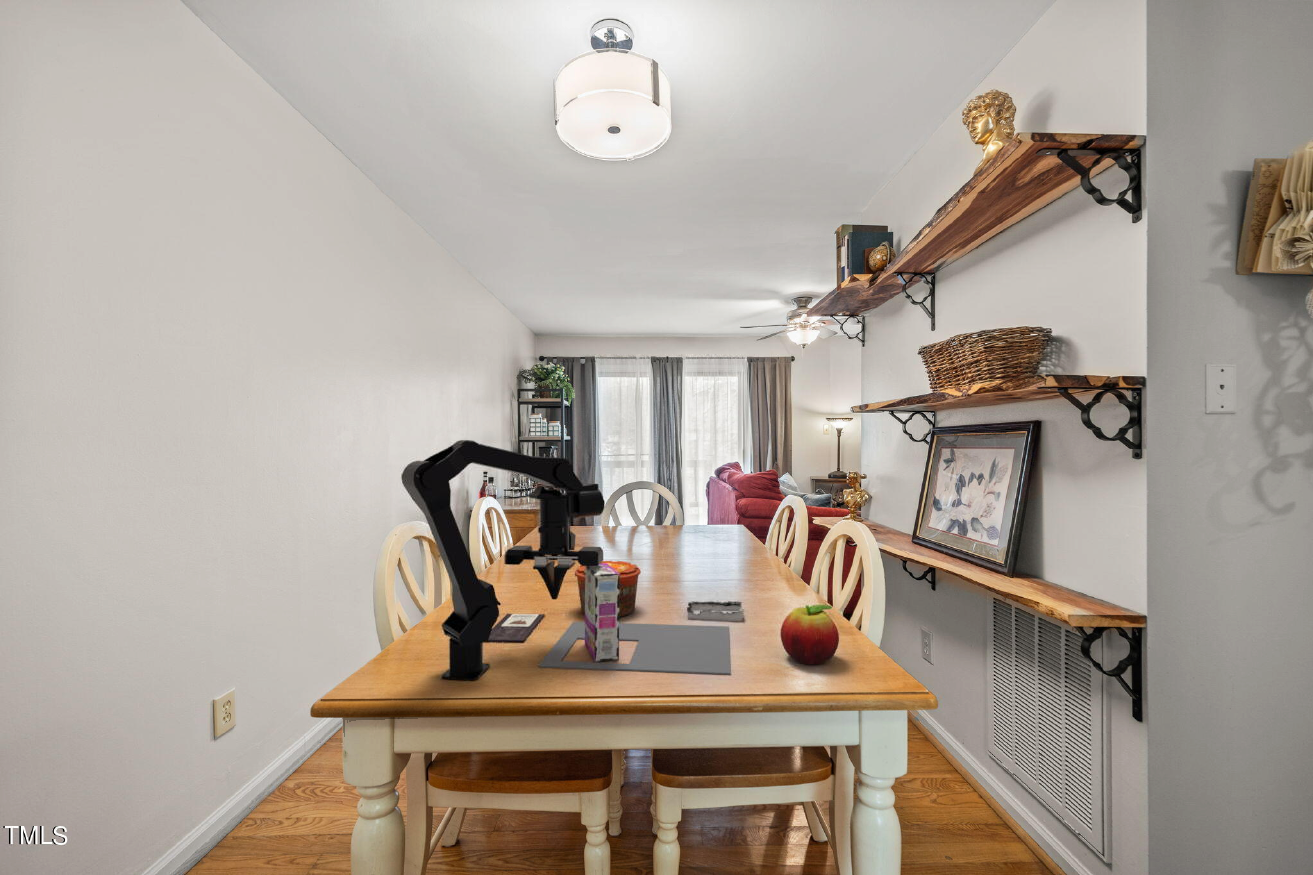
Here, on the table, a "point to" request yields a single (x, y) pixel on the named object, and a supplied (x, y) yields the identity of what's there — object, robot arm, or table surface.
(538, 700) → the table surface
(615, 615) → the candy bar box
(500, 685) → the table surface
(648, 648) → the rubber mat
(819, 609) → the fruit
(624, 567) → the food container
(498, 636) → the chocolate bar
